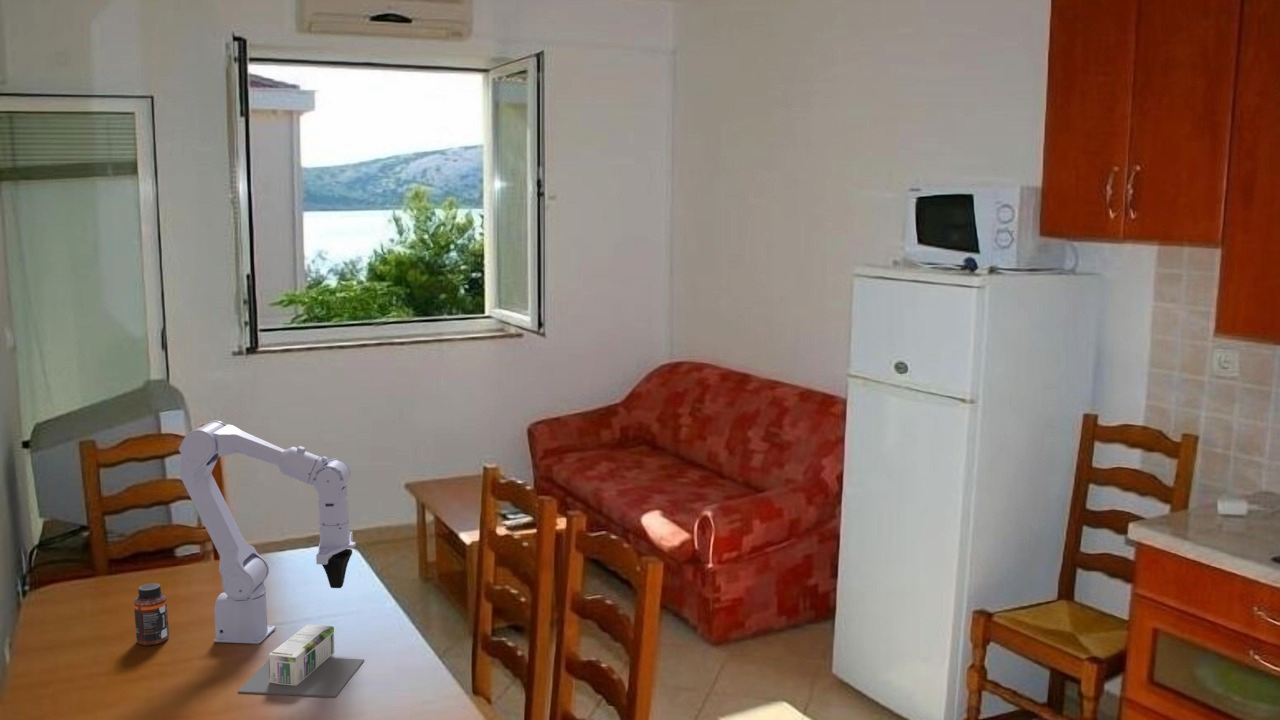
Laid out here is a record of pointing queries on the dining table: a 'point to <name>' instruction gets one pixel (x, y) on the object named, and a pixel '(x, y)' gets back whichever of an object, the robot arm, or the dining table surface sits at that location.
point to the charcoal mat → (307, 680)
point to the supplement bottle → (151, 615)
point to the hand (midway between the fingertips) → (336, 586)
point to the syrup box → (301, 654)
